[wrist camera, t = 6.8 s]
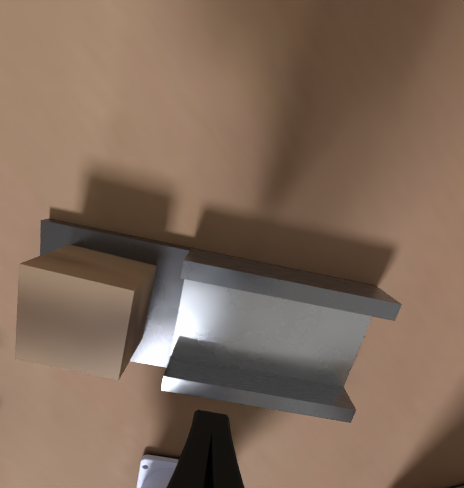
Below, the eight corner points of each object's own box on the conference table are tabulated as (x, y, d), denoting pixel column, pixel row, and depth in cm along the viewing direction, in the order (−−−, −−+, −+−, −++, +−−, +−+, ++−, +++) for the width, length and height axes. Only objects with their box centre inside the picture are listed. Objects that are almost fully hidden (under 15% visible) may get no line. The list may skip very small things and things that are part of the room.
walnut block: (142, 338, 18) (118, 380, 14) (62, 320, 18) (14, 358, 14) (156, 265, 17) (134, 290, 13) (70, 244, 16) (19, 263, 12)
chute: (334, 390, 20) (350, 422, 17) (45, 339, 19) (14, 365, 16) (375, 285, 18) (401, 304, 15) (48, 218, 16) (12, 225, 14)
